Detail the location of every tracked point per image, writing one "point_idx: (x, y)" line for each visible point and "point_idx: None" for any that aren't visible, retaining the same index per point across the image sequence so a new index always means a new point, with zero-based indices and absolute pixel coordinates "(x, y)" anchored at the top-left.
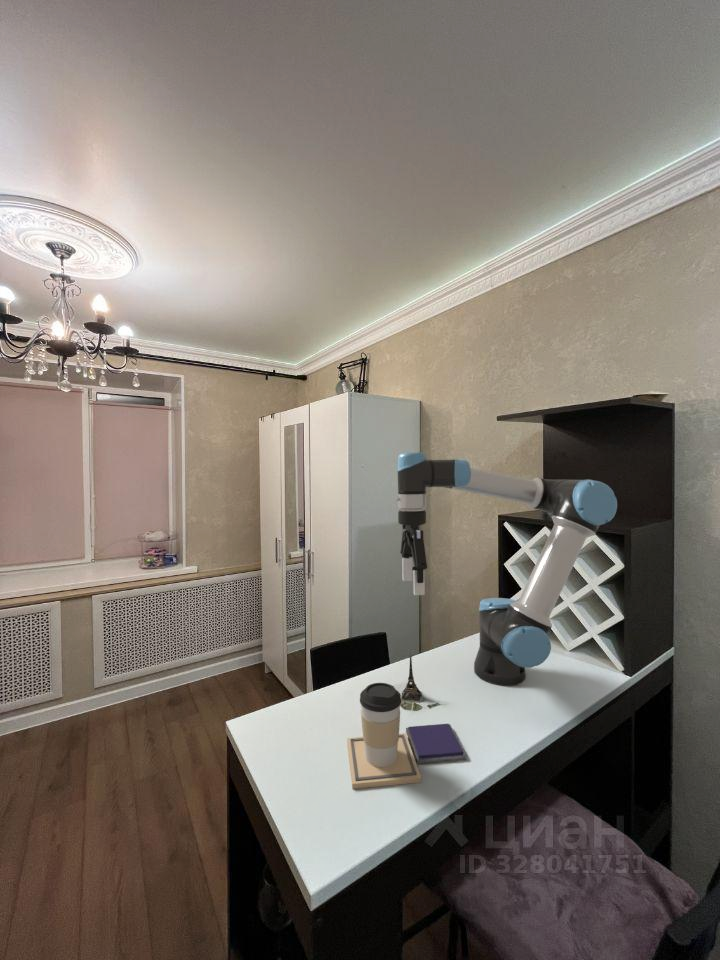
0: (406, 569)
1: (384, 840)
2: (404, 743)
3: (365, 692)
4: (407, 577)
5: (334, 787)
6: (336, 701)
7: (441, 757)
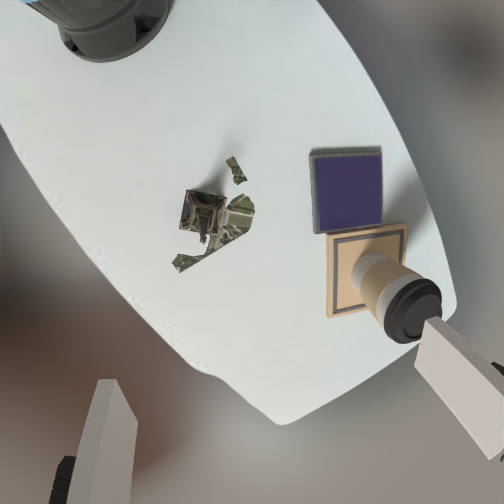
0: (119, 472)
1: (447, 264)
2: (352, 240)
3: (419, 339)
4: (123, 420)
5: None
6: (222, 342)
7: (382, 189)
